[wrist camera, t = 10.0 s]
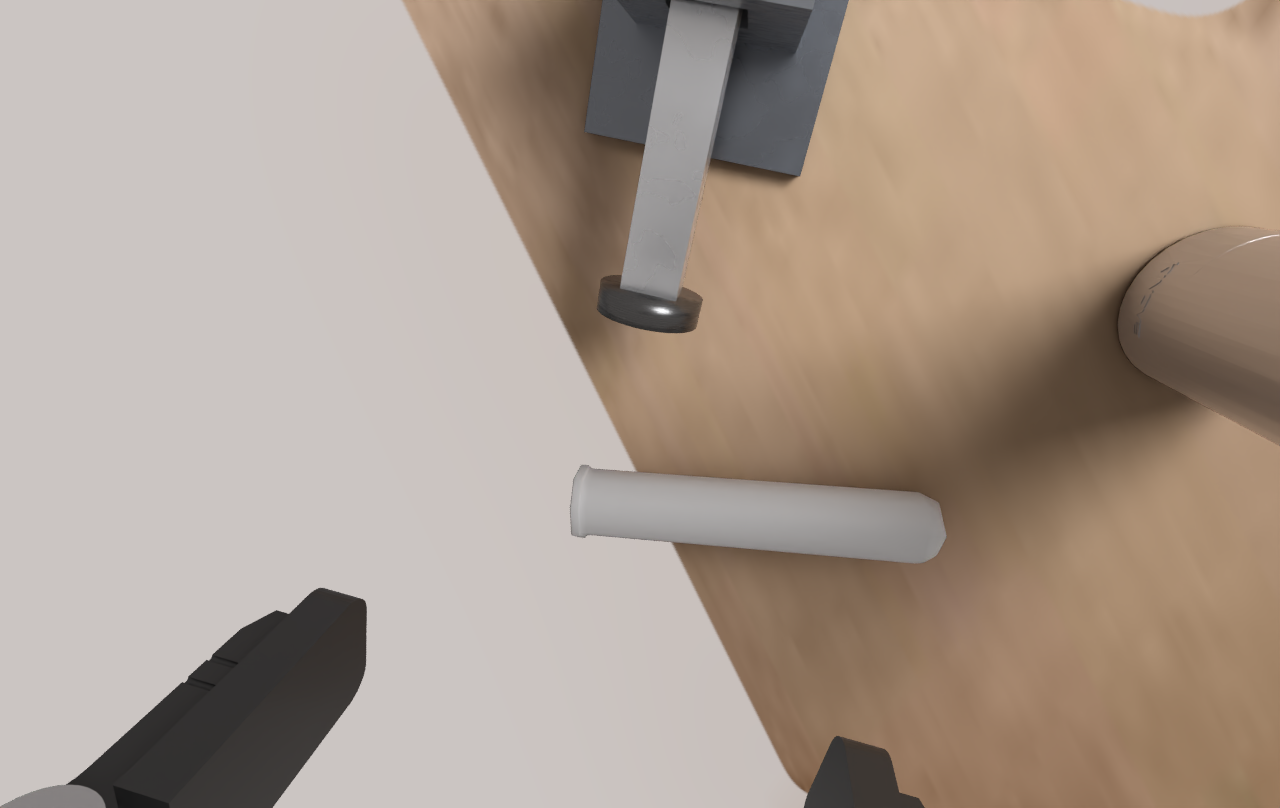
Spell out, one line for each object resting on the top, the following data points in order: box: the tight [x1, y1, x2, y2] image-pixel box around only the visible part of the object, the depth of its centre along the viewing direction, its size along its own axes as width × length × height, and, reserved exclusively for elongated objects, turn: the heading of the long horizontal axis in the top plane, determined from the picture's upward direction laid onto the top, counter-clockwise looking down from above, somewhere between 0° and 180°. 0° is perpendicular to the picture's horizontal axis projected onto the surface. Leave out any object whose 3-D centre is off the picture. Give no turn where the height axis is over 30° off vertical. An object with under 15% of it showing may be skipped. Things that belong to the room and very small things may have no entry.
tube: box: [570, 465, 947, 563], centre depth 42 cm, size 5×5×25 cm
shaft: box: [597, 0, 743, 333], centre depth 30 cm, size 6×18×6 cm, turn 169°
